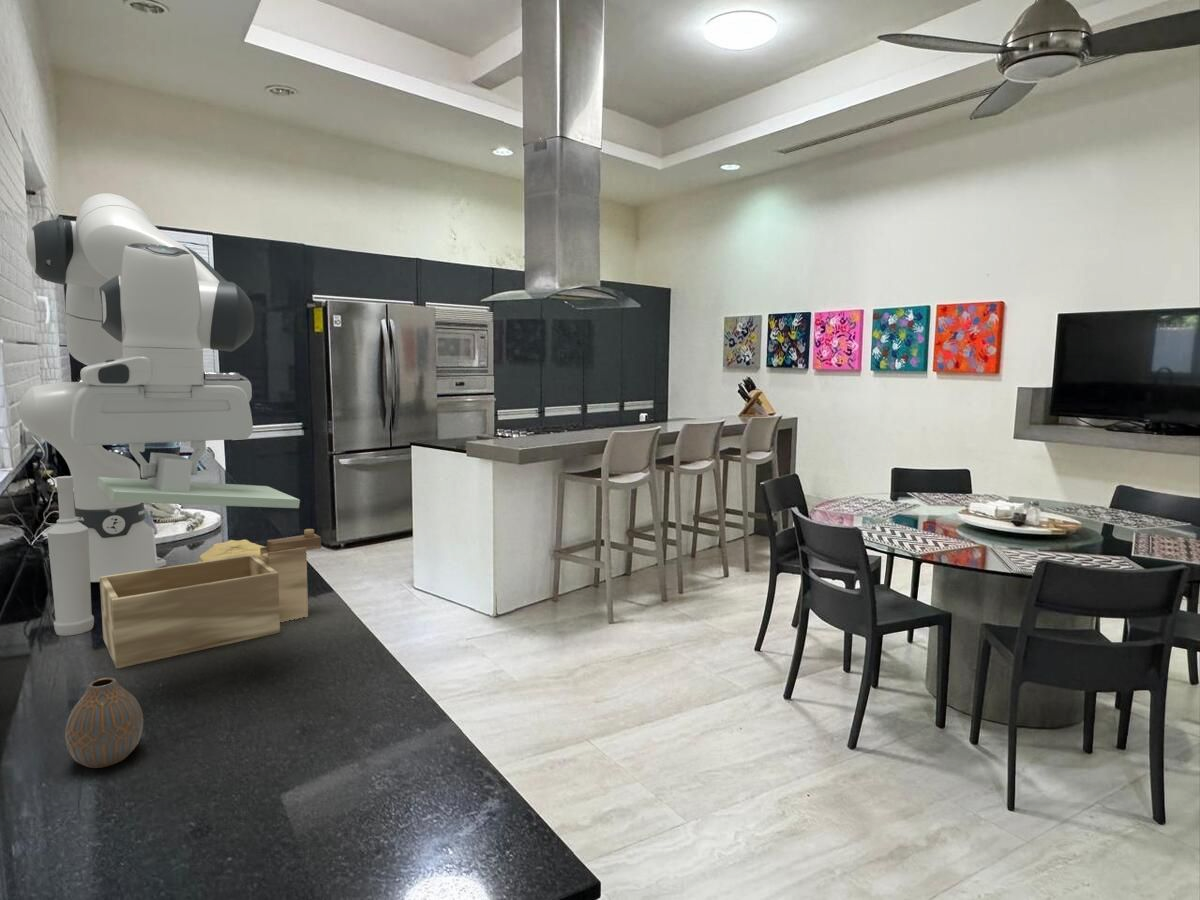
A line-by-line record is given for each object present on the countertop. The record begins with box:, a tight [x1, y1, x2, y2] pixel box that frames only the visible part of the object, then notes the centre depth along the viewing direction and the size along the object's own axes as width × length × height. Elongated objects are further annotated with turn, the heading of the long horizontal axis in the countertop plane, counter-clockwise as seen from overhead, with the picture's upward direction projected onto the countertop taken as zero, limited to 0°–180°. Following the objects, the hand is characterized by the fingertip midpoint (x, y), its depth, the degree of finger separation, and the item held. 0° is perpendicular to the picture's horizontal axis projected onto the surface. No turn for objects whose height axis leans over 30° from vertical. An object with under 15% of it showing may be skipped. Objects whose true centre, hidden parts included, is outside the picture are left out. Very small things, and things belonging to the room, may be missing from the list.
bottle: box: [46, 475, 95, 637], centre depth 110 cm, size 5×5×25 cm
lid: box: [97, 451, 301, 509], centre depth 94 cm, size 14×21×5 cm
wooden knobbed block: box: [266, 528, 322, 553], centre depth 119 cm, size 3×8×3 cm, turn 132°
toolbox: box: [99, 546, 309, 670], centre depth 111 cm, size 14×28×12 cm, turn 132°
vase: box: [64, 677, 144, 769], centre depth 75 cm, size 7×7×9 cm
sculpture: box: [198, 539, 265, 562], centre depth 129 cm, size 12×12×11 cm
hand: (169, 476), depth 91 cm, fingers closed on lid, 3 cm apart
